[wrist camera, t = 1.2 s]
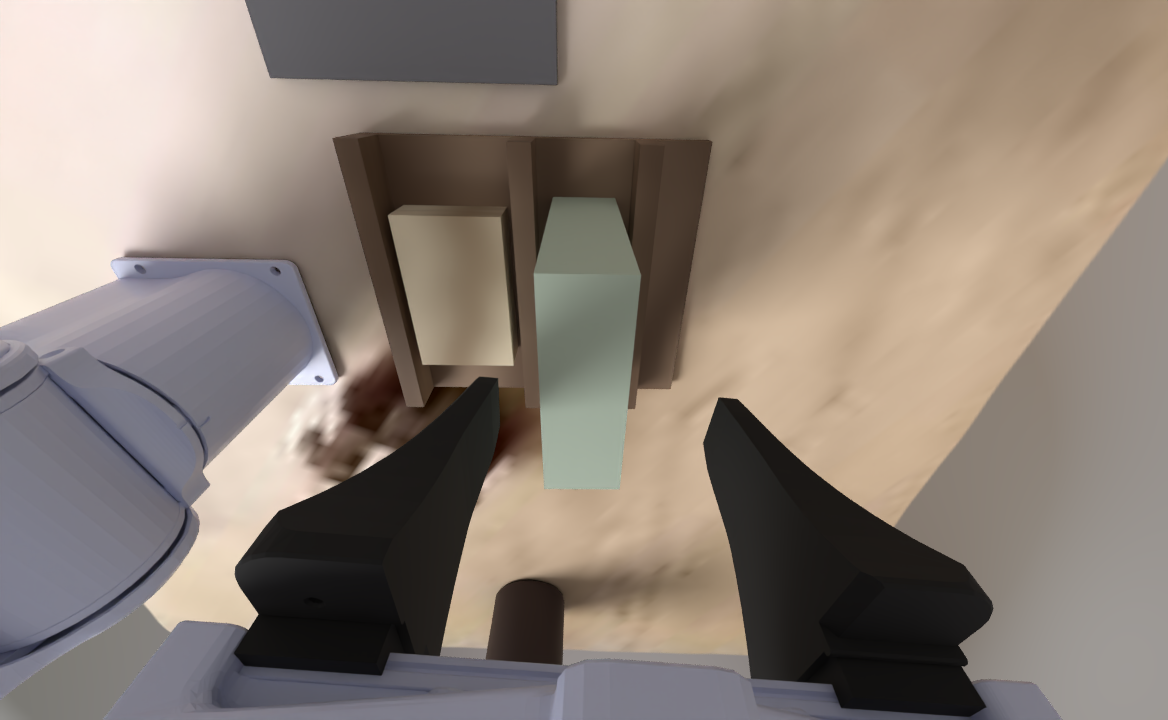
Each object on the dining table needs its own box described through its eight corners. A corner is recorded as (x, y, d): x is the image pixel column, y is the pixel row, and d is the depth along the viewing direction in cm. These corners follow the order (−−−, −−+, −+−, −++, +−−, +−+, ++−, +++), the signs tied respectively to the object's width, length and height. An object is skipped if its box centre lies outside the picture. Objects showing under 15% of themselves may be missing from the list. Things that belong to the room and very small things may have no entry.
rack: (421, 380, 26) (406, 406, 24) (360, 132, 19) (332, 138, 17) (668, 383, 27) (676, 409, 25) (708, 140, 19) (725, 146, 17)
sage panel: (556, 354, 25) (544, 488, 16) (553, 196, 20) (533, 273, 11) (605, 355, 25) (619, 489, 16) (615, 198, 20) (641, 275, 12)
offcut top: (428, 354, 24) (422, 364, 23) (396, 209, 19) (387, 215, 18) (516, 355, 24) (513, 365, 23) (504, 211, 19) (500, 217, 18)
